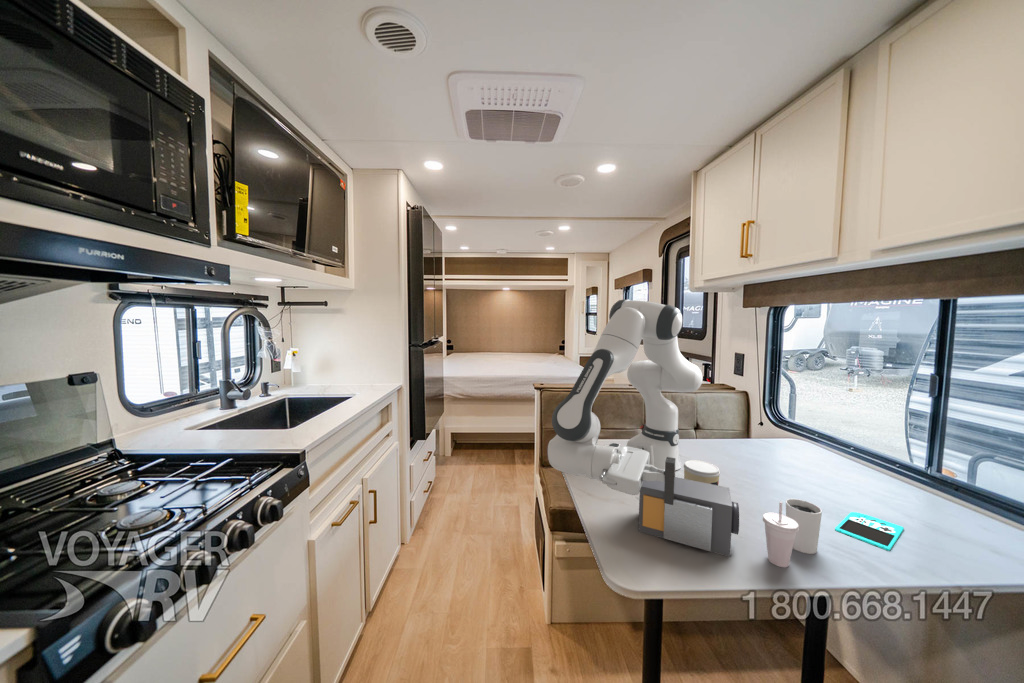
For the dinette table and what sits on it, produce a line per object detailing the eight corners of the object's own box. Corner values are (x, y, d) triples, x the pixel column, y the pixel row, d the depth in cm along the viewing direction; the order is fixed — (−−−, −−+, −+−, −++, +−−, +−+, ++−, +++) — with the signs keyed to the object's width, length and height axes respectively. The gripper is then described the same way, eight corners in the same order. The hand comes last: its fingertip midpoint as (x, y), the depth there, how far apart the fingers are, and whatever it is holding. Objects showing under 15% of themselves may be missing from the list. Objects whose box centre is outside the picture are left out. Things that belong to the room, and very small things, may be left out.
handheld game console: (905, 531, 90) (905, 526, 90) (890, 554, 81) (891, 549, 81) (852, 513, 98) (852, 509, 98) (834, 532, 90) (834, 527, 90)
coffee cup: (720, 518, 95) (722, 475, 94) (682, 510, 99) (684, 469, 98) (716, 502, 103) (718, 462, 103) (681, 495, 107) (683, 457, 107)
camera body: (638, 532, 89) (639, 486, 88) (644, 512, 98) (645, 471, 97) (738, 560, 78) (740, 509, 78) (734, 535, 87) (736, 489, 87)
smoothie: (758, 561, 78) (761, 501, 77) (763, 548, 82) (766, 491, 82) (794, 576, 73) (798, 512, 73) (798, 561, 78) (801, 501, 77)
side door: (662, 543, 82) (665, 462, 81) (664, 535, 86) (666, 456, 84) (710, 557, 78) (714, 470, 76) (710, 548, 81) (713, 464, 80)
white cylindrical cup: (786, 533, 88) (788, 495, 87) (821, 546, 83) (823, 506, 83) (781, 545, 84) (783, 505, 83) (817, 559, 79) (820, 517, 78)
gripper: (596, 467, 80) (661, 481, 74) (615, 440, 98) (669, 449, 92) (596, 493, 81) (660, 509, 74) (615, 462, 99) (668, 472, 92)
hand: (665, 475), depth 83 cm, fingers closed, pressing on side door
